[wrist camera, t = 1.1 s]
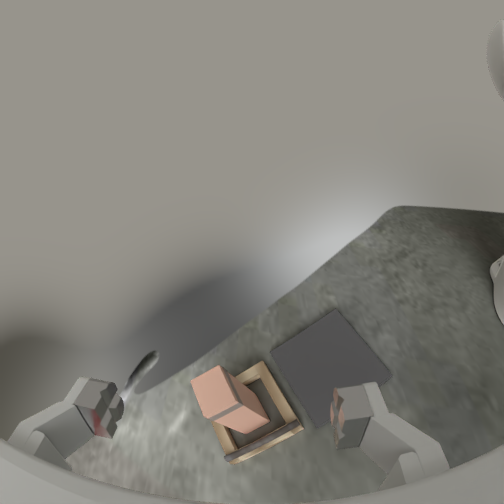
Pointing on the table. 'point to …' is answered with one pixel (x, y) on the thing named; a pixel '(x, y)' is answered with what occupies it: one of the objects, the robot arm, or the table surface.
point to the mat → (327, 364)
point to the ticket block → (228, 401)
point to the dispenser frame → (270, 439)
